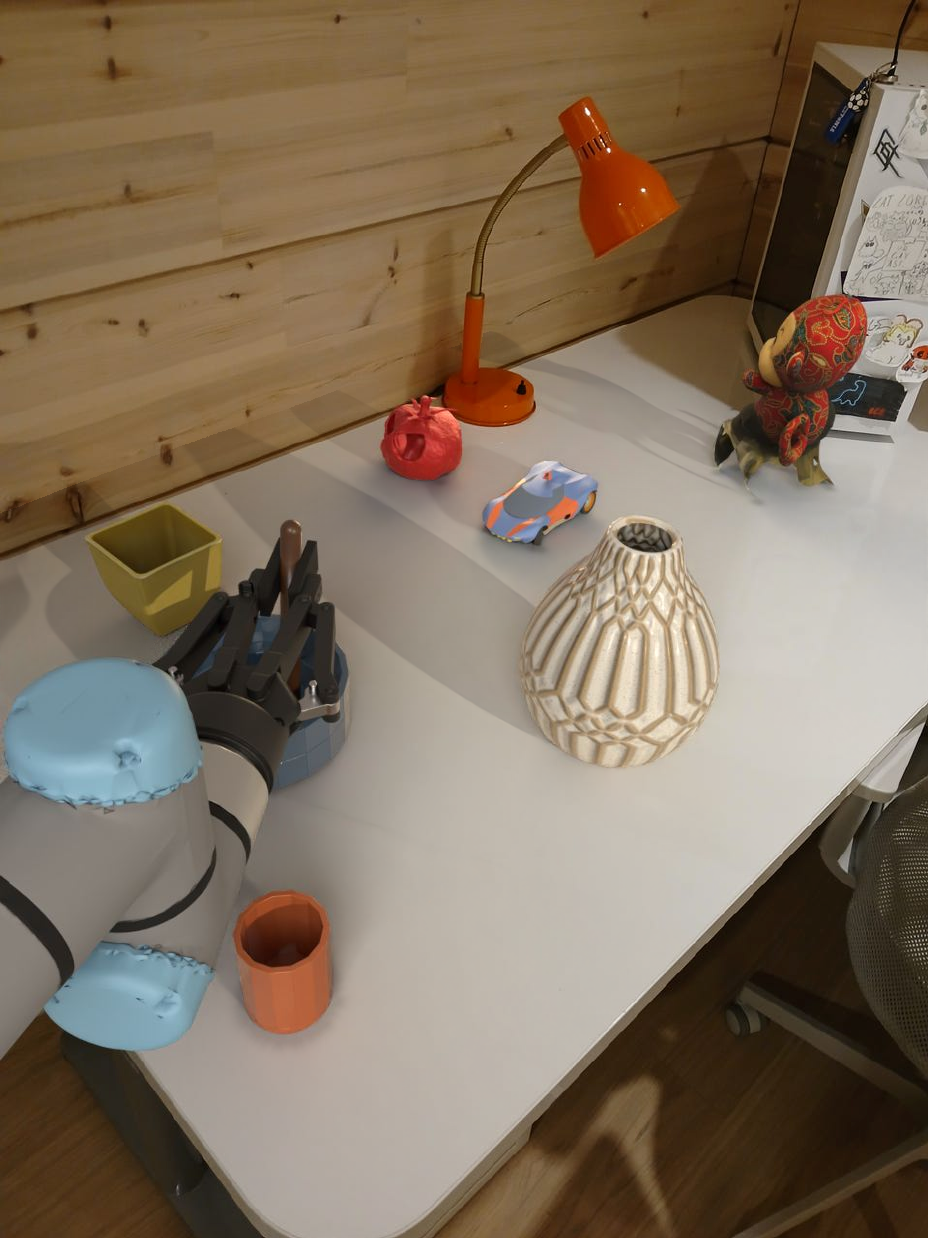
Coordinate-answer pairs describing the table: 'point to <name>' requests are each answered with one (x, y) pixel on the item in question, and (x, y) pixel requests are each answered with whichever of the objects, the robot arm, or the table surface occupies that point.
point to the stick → (288, 565)
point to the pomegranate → (422, 440)
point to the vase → (622, 650)
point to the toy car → (540, 503)
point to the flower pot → (159, 565)
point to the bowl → (315, 735)
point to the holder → (284, 960)
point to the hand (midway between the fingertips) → (298, 553)
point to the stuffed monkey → (796, 389)
